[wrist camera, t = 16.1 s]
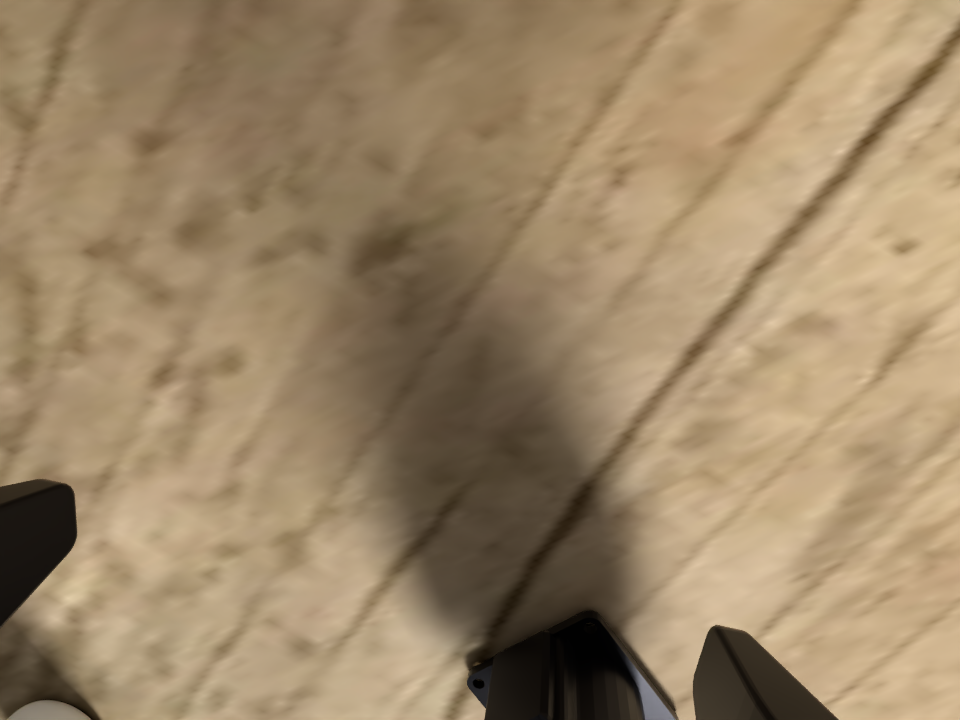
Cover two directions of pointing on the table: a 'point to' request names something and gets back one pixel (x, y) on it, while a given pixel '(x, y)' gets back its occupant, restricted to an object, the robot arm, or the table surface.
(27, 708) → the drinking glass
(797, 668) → the table surface
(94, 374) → the table surface
